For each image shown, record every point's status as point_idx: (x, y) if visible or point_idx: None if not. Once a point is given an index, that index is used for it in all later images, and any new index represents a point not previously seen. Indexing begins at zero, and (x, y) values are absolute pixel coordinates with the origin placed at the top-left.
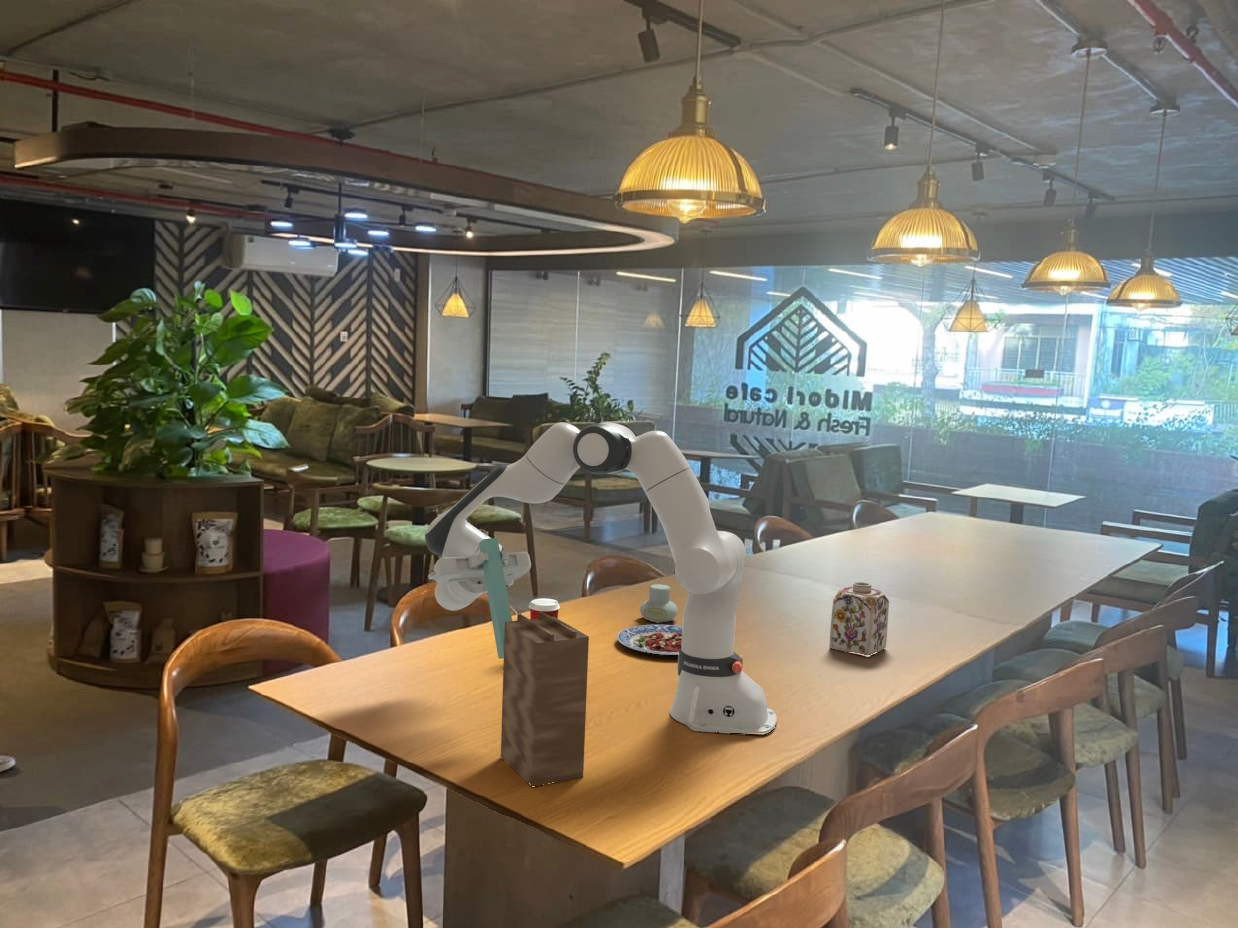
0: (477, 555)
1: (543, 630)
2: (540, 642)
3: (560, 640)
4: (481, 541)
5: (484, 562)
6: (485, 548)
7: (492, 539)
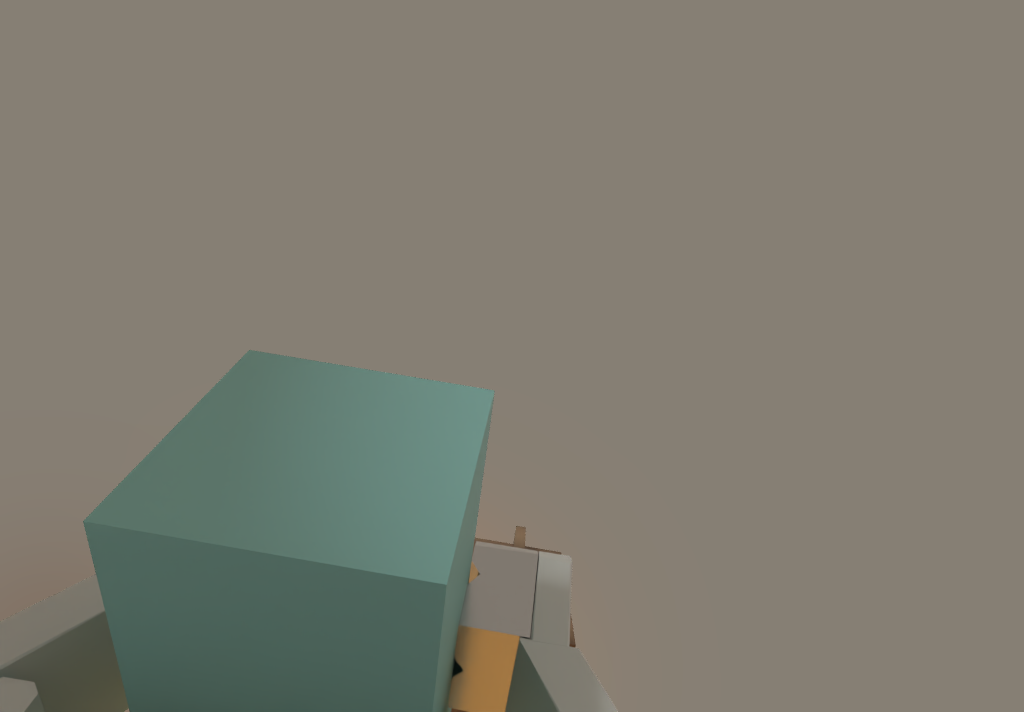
0: (576, 657)
1: (524, 540)
2: (552, 551)
3: (493, 541)
4: (473, 472)
5: (476, 705)
6: (476, 520)
7: (341, 383)
